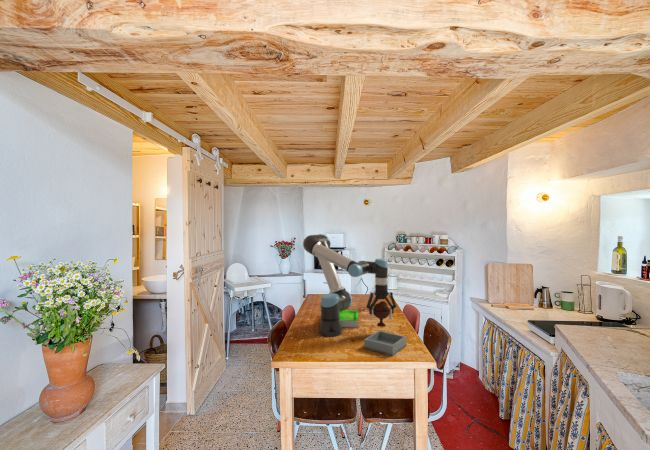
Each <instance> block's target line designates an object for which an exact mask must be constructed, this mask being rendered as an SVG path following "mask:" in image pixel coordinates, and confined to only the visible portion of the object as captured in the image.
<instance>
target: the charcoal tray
mask: <svg viewBox="0 0 650 450" xmlns="http://www.w3.org/2000/svg"><path fill="white" fill-rule="evenodd" d="M363 346H364V347H363V348H364V349H365V350H368V351H373V352H376V353H380V354H383V355H387V356H391V357H393V356H395V355H397V353H399V352H400V351H402V350H403V349H404V348H406V347H407V336H405V335H401V334H396V333H391V332H387V331H382V330H378V331H376V332H373V334H371V335H369V336H367V337H365V338H364V339H363Z"/></svg>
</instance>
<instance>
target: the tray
mask: <svg viewBox="0 0 650 450" xmlns="http://www.w3.org/2000/svg"><path fill="white" fill-rule="evenodd" d="M339 320H340V323H341V327H342V328H359V310H357V309H353V310H352V309H346V310H343V311H341V312H339Z"/></svg>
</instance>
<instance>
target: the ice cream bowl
mask: <svg viewBox="0 0 650 450" xmlns="http://www.w3.org/2000/svg"><path fill="white" fill-rule="evenodd" d="M389 308H390V307H388V303H387V301H383V300H382V301H379V302H376V304H375V305H374V307H373V308H372V309H373V316H374V317H375V318H377V319H379V322H378V323H377V324H376V326H377V327H381V328H384V327H386V326H387V325H386V324H385V323H384V321H383V320H384V319H387V318H389V314H390V310H389Z"/></svg>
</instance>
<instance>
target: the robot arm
mask: <svg viewBox="0 0 650 450" xmlns="http://www.w3.org/2000/svg"><path fill="white" fill-rule="evenodd" d="M331 243H332V242H331V239H330V237H328V236H327V235H326V234H323V233H322V234H321V233H319V234H310V235H307V236H306V237H305V238H304V239H303V241H302V246H303V248H304V250H305V251H306V252H307V253H308V254H310V255H312V256H315V257H316V258H317V259H318V262H319V264H320V267H321V270H322V273H323V275H324V278H325V281H326V283H327V286H328V289H329V293H326V294H323V295H322V296H321V298H320V322H319V326H318V334H319V335H320V336H324V337H337V336H340V335H342V334H343V327H341V323H340V320H339V312H341V311H343V310H348V309H349V308H350V307H351V305H352V303H353V298H352V295H351V293H350V292H348V291H347V290H346V287H344V286H343V285H342V283H341V280H340V278H339V275H338V273H337V270H336V267H338V268H341V269H342V270H344V271H345V272H348V275H349V276H350V277H353V278H358V277H361V276H362V275H366V274H373V275H375V276H374V278H375V279H374V283H375V285H374V292H370V293H369V299H368V301H367V304H366V305H365V307H366V308H367V309H368V310H369V311H368V312H369V315H370V320H371V321H374V314H373V309H374V306H375V305H376V304H377V303H378V301H379V300H385V302H386V303H387V305H388V306H389V307H388V308H389V310H390V314H389V316H388V319H389V320H393V314H394V309H396V308H397V304H396V302H395V299H394V296H393V295H394V294H393V292H392V291H389V290H388V289H389V288H388V282H389V281H388V280H389V279H388V275H389V274H388V273H389V272H388V271H389V270H388V267H389V266H388V260H387V259H386V258H376V259H375V260H374V261H369V260H359V261H356V260H353V259H351V258H350V257H347V256H345V255H343V254H341V253H339V252H337V251H336V250H333V249H331ZM387 296H389V298H390V300H389V299H388V297H387Z"/></svg>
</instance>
